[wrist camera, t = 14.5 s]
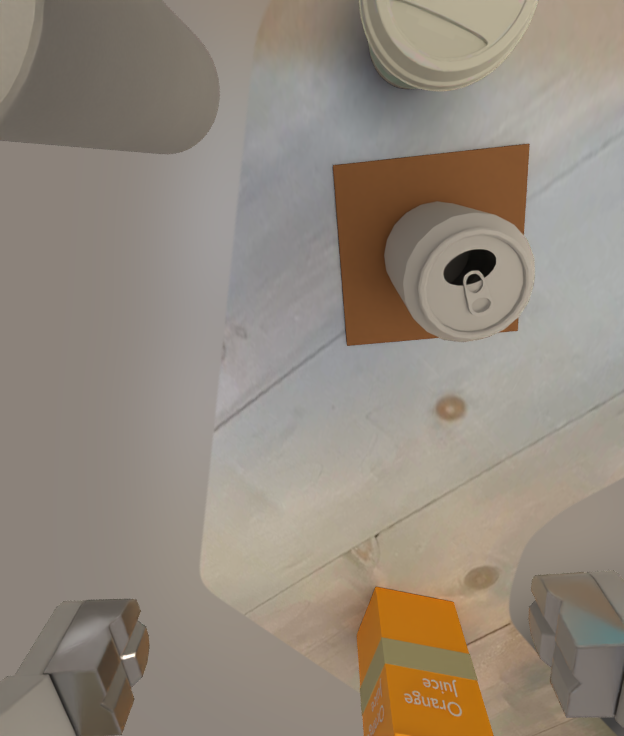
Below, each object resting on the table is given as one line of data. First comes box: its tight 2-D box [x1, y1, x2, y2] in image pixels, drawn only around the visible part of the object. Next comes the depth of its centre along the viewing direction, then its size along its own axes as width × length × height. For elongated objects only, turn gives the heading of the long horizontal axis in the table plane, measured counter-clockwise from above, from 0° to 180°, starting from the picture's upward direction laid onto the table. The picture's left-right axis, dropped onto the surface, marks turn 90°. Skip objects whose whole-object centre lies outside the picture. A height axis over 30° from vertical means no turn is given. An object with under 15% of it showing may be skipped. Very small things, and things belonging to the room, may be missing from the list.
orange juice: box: [357, 587, 494, 736], centre depth 44 cm, size 8×9×20 cm
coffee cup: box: [359, 0, 538, 91], centre depth 27 cm, size 9×9×12 cm
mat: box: [333, 144, 530, 346], centre depth 37 cm, size 14×14×1 cm
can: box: [384, 201, 535, 342], centre depth 32 cm, size 8×8×12 cm
